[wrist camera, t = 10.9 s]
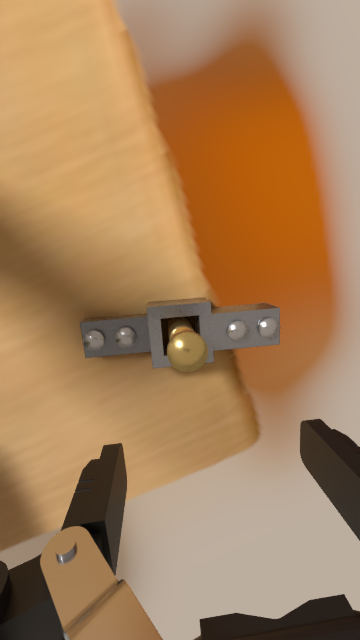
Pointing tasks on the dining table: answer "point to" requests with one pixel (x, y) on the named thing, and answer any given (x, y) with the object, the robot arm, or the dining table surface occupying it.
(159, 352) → the grey studded bar
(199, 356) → the pin
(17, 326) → the dining table surface
